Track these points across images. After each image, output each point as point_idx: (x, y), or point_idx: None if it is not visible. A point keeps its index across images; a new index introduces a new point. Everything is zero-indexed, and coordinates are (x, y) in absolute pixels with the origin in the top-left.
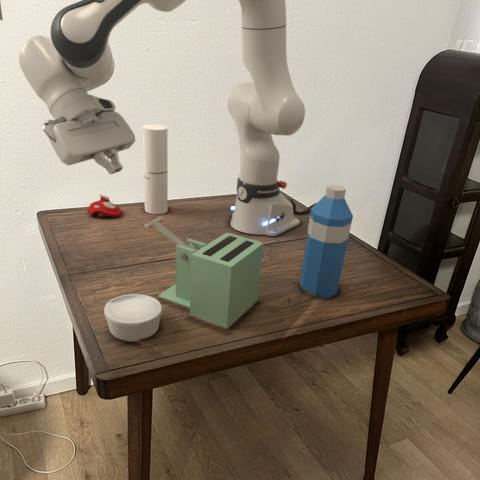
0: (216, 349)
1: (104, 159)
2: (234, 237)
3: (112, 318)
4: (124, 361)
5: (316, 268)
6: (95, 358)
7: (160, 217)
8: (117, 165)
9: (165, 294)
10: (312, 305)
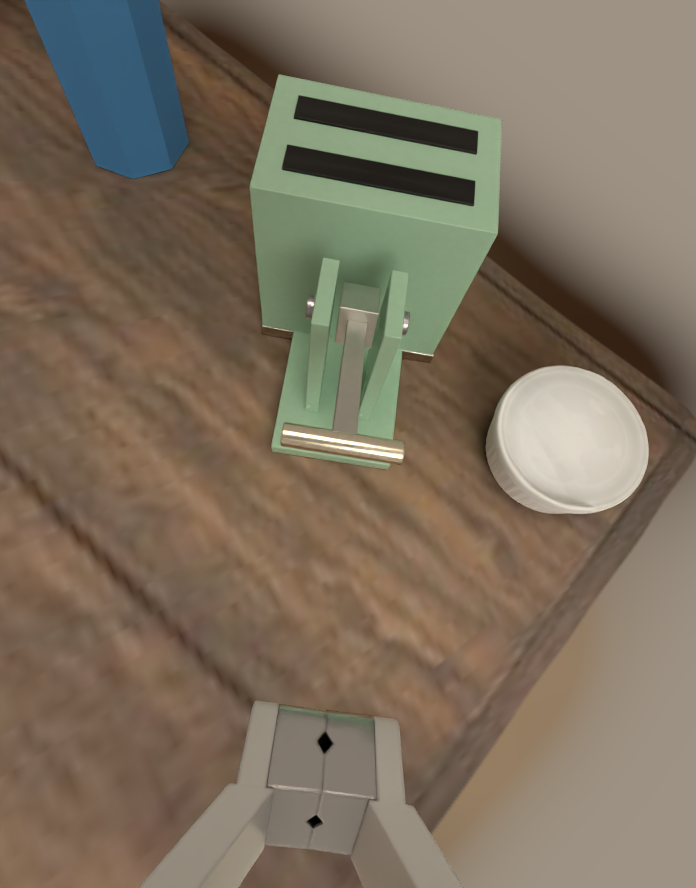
0: (501, 275)
1: (457, 878)
2: (289, 151)
3: (646, 454)
4: (642, 418)
5: (167, 66)
6: (672, 477)
7: (293, 429)
8: (312, 738)
9: None
10: (228, 143)
